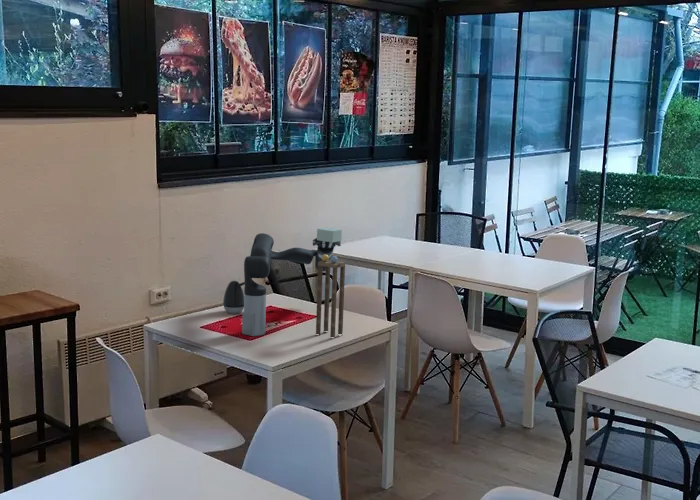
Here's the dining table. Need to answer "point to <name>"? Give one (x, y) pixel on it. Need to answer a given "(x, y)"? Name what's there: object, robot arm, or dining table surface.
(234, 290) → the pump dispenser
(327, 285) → the walnut stand
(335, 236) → the mint green block
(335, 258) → the slate marble
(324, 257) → the amber marble
